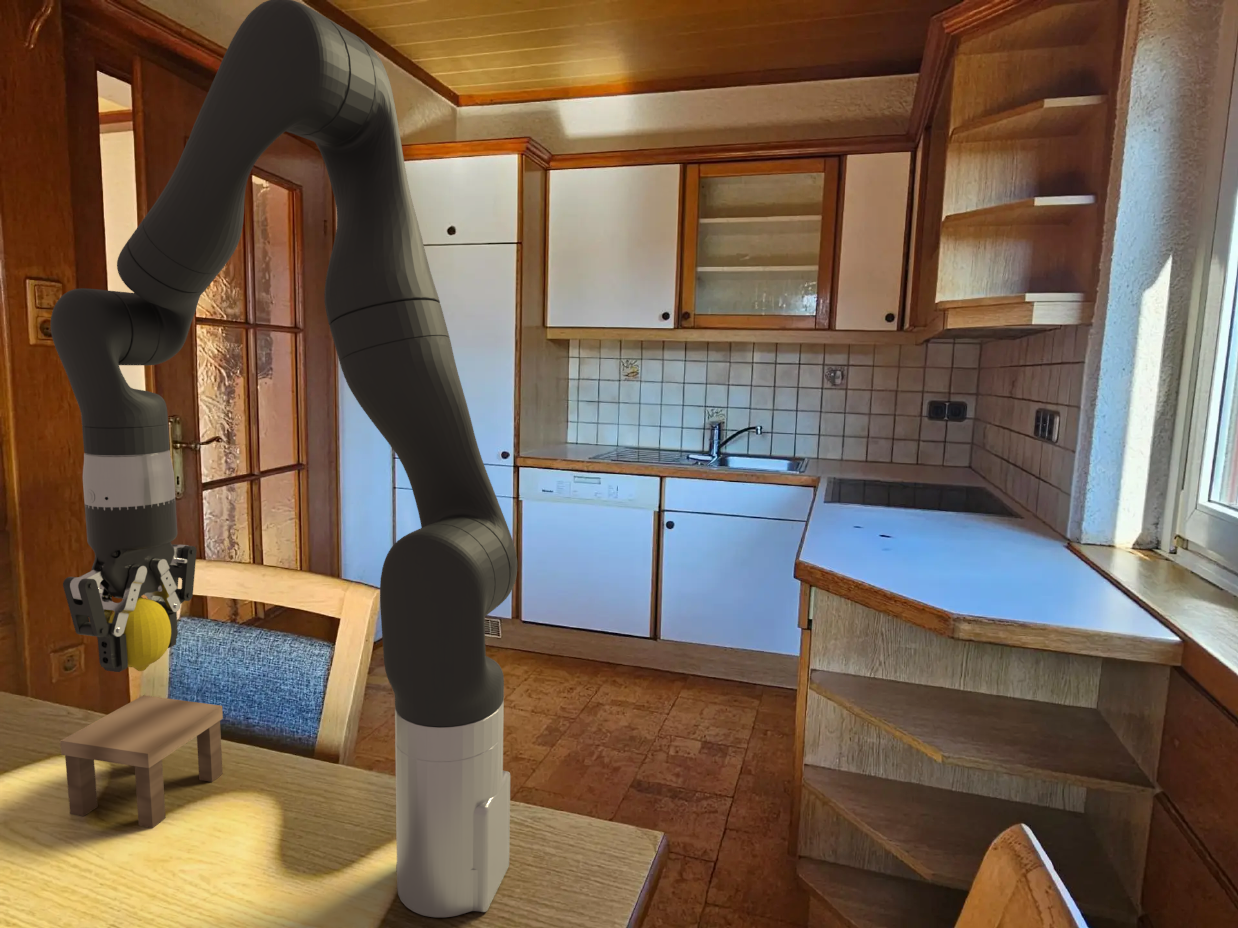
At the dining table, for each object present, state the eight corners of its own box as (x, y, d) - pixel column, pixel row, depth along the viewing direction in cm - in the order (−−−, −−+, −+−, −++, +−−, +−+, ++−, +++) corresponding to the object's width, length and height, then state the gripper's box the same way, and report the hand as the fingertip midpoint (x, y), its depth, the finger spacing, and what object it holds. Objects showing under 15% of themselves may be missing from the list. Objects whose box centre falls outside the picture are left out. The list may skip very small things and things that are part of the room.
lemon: (142, 685, 71) (137, 607, 70) (95, 678, 73) (89, 602, 71) (186, 662, 77) (181, 590, 76) (141, 656, 78) (136, 585, 77)
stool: (225, 772, 81) (222, 705, 80) (152, 829, 71) (147, 753, 70) (147, 761, 82) (143, 695, 81) (66, 814, 73) (60, 740, 72)
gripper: (99, 514, 64) (112, 692, 67) (216, 486, 78) (223, 635, 81) (28, 508, 66) (44, 683, 68) (156, 482, 80) (165, 628, 82)
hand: (141, 656), depth 74 cm, fingers closed on lemon, 5 cm apart
